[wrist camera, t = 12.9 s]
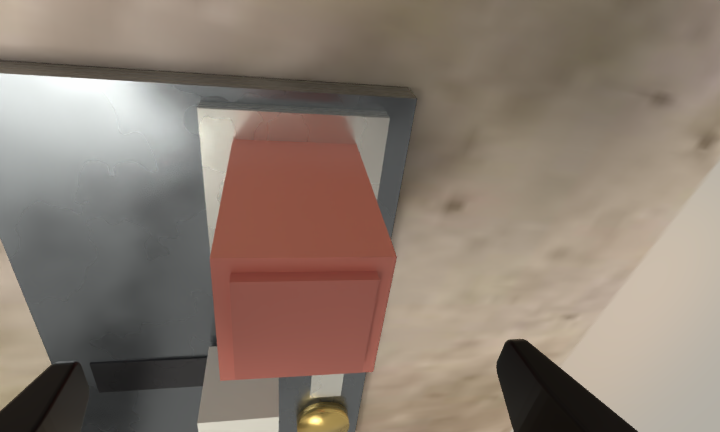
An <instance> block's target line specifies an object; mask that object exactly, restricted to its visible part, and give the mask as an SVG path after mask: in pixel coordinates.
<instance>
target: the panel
mask: <svg viewBox="0 0 720 432" xmlns="http://www.w3.org/2000/svg"><path fill="white" fill-rule="evenodd" d="M416 102H417V98H416V97H415V95H414V94H413V93H412V92H411V90H410V89H409V88H408V87H393V86H378V85H362V84H347V83H332V82H317V81H302V80H287V79H271V78H256V77H241V76H226V75H211V74H195V73H180V72H165V71H150V70H135V69H120V68H104V67H89V66H74V65H59V64H44V63H28V62H13V61H0V239H1V241H2V243H3V246H4V248H5V251H6V253H7V256H8V258H9V261H10V263H11V266H12V268H13V270H14V273H15V275H16V278H17V280H18V283H19V285H20V288H21V290H22V292H23V295H24V297H25V300H26V302H27V305H28V307H29V310H30V312H31V315H32V317H33V319H34V322H35V324H36V327H37V329H38V332H39V334H40V337H41V339H42V342H43V344H44V346H45V349H46V351H47V354H48V356H49V359H50V361H51V364H53V363H55V362H59V361H78V362H80V364H81V365H82V368H83V371H84V374H85V377H86V379H87V382H88V385H89V399H88V403H87V407H86V411H85V415H84V420H83V424H82V428H81V432H198V426H197V421H198V414H199V408H200V402H201V395H202V389H203V382H204V376H205V369H206V363H207V356H208V350H209V347H212V346H217V338H216V326H215V315H214V303H213V291H212V280H211V268H210V254H211V249H212V244H213V239H214V233H215V228H216V223H217V218H218V213H219V207H220V202H221V197H222V192H223V187H224V182H225V176H226V171H227V166H228V161H229V156H230V151H231V145H232V140H233V139H246V140H269V141H292V142H315V143H338V144H357V147H358V150H359V152H360V155H361V158H362V161H363V164H364V166H365V169H366V172H367V175H368V178H369V180H370V183H371V186H372V189H373V192H374V194H375V197H376V200H377V203H378V206H379V209H380V211H381V214H382V217H383V220H384V223H385V225H386V228H387V231H388V234H389V237H390V239H391V236H392V231H393V225H394V220H395V215H396V209H397V204H398V198H399V193H400V188H401V182H402V177H403V172H404V166H405V161H406V156H407V150H408V145H409V140H410V134H411V129H412V124H413V118H414V113H415V107H416ZM365 375H366V372H362V373H346V374H329V375H312V376H295V377H279V432H355V429H356V423H357V418H358V413H359V407H360V402H361V397H362V391H363V386H364V381H365Z"/></svg>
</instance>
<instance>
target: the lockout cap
mask: <svg viewBox="0 0 720 432" xmlns="http://www.w3.org/2000/svg"><path fill="white" fill-rule="evenodd" d="M396 259H397V256H396V253H395V251H394V248H393V245H392V242H391V239H390V237H389V234H388V231H387V228H386V225H385V223H384V220H383V217H382V214H381V211H380V209H379V206H378V203H377V200H376V197H375V194H374V192H373V189H372V186H371V183H370V180H369V178H368V175H367V172H366V169H365V166H364V164H363V161H362V158H361V155H360V152H359V150H358V147H357V144H338V143H315V142H292V141H269V140H246V139H233V140H232V145H231V151H230V156H229V161H228V166H227V171H226V176H225V182H224V187H223V192H222V197H221V202H220V207H219V213H218V218H217V223H216V228H215V233H214V239H213V244H212V249H211V254H210V268H211V280H212V291H213V303H214V315H215V326H216V338H217V350H218V361H219V373H220V381H226V380H245V379H262V378H278V377H295V376H312V375H329V374H346V373H362V372H373V370H374V365H375V360H376V355H377V350H378V346H379V341H380V336H381V331H382V326H383V321H384V317H385V312H386V307H387V302H388V297H389V292H390V288H391V283H392V278H393V273H394V268H395V263H396Z"/></svg>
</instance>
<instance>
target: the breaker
mask: <svg viewBox="0 0 720 432" xmlns="http://www.w3.org/2000/svg"><path fill="white" fill-rule="evenodd" d="M197 426H198V432H279V377H278V378H262V379H245V380H226V381H220V373H219V361H218V350H217V346H212V347H209V350H208V356H207V363H206V369H205V376H204V382H203V389H202V395H201V402H200V408H199V414H198V421H197Z"/></svg>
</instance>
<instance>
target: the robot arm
mask: <svg viewBox="0 0 720 432" xmlns="http://www.w3.org/2000/svg"><path fill="white" fill-rule="evenodd" d="M496 369H497V374H498V378H499V381H500V385H501V388H502V392H503V395H504V399H505V402H506V406H507V409H508V413H509V417H510V420H511V424H512V427H513V430H514V432H638V431H637V430H635V429H634V428H633V427H632V426H630V425H629V424H628V423H627V422H625V421H624V420H623V419H622V418H621V417H619V416H618V415H617V414H616V413H615V412H613V411H612V410H611V409H610V408H609V407H607V406H606V405H605V404H604V403H602V402H601V401H600V400H599V399H598V398H596V397H595V396H594V395H593V394H591V393H590V392H589V391H588V390H586V389H585V388H584V387H583V386H582V385H580V384H579V383H578V382H577V381H576V380H574V379H573V378H572V377H571V376H569V375H568V374H567V373H566V372H564V371H563V370H562V369H561V368H560V367H558V366H557V365H556V364H555V363H554V362H552V361H551V360H550V359H549V358H547V357H546V356H545V355H544V354H543V353H541V352H540V351H539V350H538V349H536V348H535V347H534V346H533V345H532V344H530V343H529V342H528V341H526V340H524V339H510V340H508V341H506V342H505V344H504V347H503V349H502V351H501V354H500V356H499V358H498V360H497V365H496ZM88 399H89V385H88V382H87V379H86V377H85V374H84V371H83V368H82V365H81V364H80V362H78V361H59V362H55V363H53V364H52V365H50V366H49V367H48V368H47V369H46V370H45V371H44V372H43V373H42V374H40V375H39V376H38V377H37V378H36V379H35V380H34V381H33V382H32V383H31V384H29V385H28V386H27V387H26V388H25V389H24V390H23V391H22V392H21V393H20V394H19V395H17V396H16V397H15V398H14V399H13V400H12V401H11V402H10V403H9V404H8V405H6V406H5V407H4V408H3V409H2V410H1V411H0V432H81V428H82V424H83V420H84V415H85V411H86V407H87V403H88Z"/></svg>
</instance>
